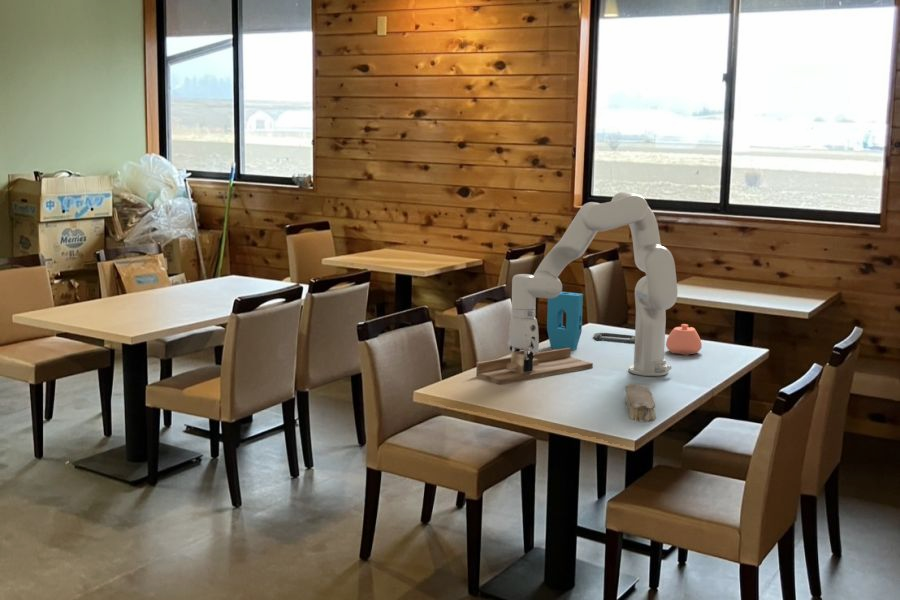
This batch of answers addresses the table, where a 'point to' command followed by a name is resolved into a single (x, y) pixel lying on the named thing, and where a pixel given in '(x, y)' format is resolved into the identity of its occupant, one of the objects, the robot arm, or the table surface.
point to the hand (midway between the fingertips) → (522, 368)
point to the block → (573, 311)
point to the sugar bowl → (684, 340)
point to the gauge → (519, 362)
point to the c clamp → (599, 337)
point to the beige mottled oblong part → (640, 403)
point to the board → (547, 366)
